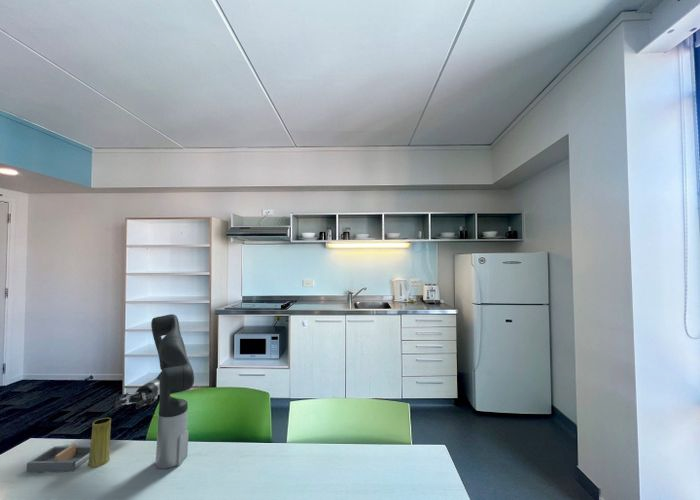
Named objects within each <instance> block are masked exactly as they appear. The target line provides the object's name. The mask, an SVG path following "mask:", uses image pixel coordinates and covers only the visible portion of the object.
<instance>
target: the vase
mask: <svg viewBox="0 0 700 500" xmlns="http://www.w3.org/2000/svg"><path fill="white" fill-rule="evenodd" d="M111 424H112V418H111V417H102V418H99V419H96V420H94V421H93V422H92V426H91V427H92V428H91V437H90V438H91V439H90V446H91V447H90V454H89V459H88V463H87V467H89V468H97V467H101V466H104V465H105V464H107V463H108V462H109V461H110V459H111V458H110V449H111V447H110V444H111V427H112V425H111Z"/></svg>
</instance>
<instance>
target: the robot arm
mask: <svg viewBox="0 0 700 500" xmlns="http://www.w3.org/2000/svg"><path fill="white" fill-rule="evenodd" d="M150 323H151V324H150V326H151V328H150V329H151V333H152V337H153V340H154V345H155V348H156V352H157V354H158V359H159V368H160V370H161V371H160V372H159V374H158V375H157V376H156V377H155V378H154V379H151V380H150V381H148V382H146V383H144V384H143V385H142V386H140V387H139V388H137V389H136V391H135V392H134V393H132V394H129V393H128V392H125V393H124V394H122V395H120V396H119V397H117V398H116V400H115V402H114V404H113V409H114V410H117V409H118V408H120V407H122V406H124V405H126V406H127V405H131V404H135V410H138V409H140V408H142V407H144V406H146V405H148V406H149V405H153V404H154V402H156V401H157V400H158V396H159V401H158V402H159V403H158V404H159V405H158V416H157V417H158V419H157V432H156V433H157V434H156V448H155V449H156V450H155V467H156V468H158V469H165V470H166V469H170V468H173V467H177V466H180V465H181V464H182V463H183V462H184V460H186V458H187V457H188V451H189V448H188V447H189V431H190V429H187V427H188V425H187V424H188V409H189V408H188V407H189V406H188V401H187V400H186V399H183V398H179V397H178V398H177V397H174V396H171V395H173V394H178V393H181V392H186V391H189V390H190V389H191V388H193V386H194V383H195V375H194V374H195V373H194V369H193V367H192V364H191V362H190V360H189V358H188V355H187V351H186V346H185V342H184V340H183V337H182V334H181V328H180V323H179V319H178V316H177V315H176V314H172V313H171V314H165V315H161V316H155V317H153V318H152V319H151V322H150ZM163 336H164V337H163Z"/></svg>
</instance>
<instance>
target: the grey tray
mask: <svg viewBox="0 0 700 500" xmlns="http://www.w3.org/2000/svg"><path fill="white" fill-rule="evenodd" d="M69 446H70V445H66V446H65V445H56V446H53V447H51V448H49V449H48V450H46V451H44V452H43V453H41V454H40V455H38V456H36V457H35V458H33V459H31V460H30V461H28V462H26V470H25V471H26V473H59V472H60V473H64V472H65V473H71V472H74V471H75V470H76V469H77V468H79V467H80V466H82V465H83V464H85V462H87V461H89V454H90V447H91V445H76V455H75V456H74V457H72V458H71V459H69V460H68V461H55V455H57V454H59V453H60V452H62V451H63V450H65V449H66V448H68V447H69Z"/></svg>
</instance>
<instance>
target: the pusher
mask: <svg viewBox="0 0 700 500" xmlns="http://www.w3.org/2000/svg"><path fill="white" fill-rule="evenodd" d="M68 446H69V447H68V448H66V449H65V450H63V451H62V452H60V453H59V454H57V455H55V461H68V460H69V459H71V458H72V457H74V456H75V455H76V446H78V445H77V443H73V444H71V445H68Z"/></svg>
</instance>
